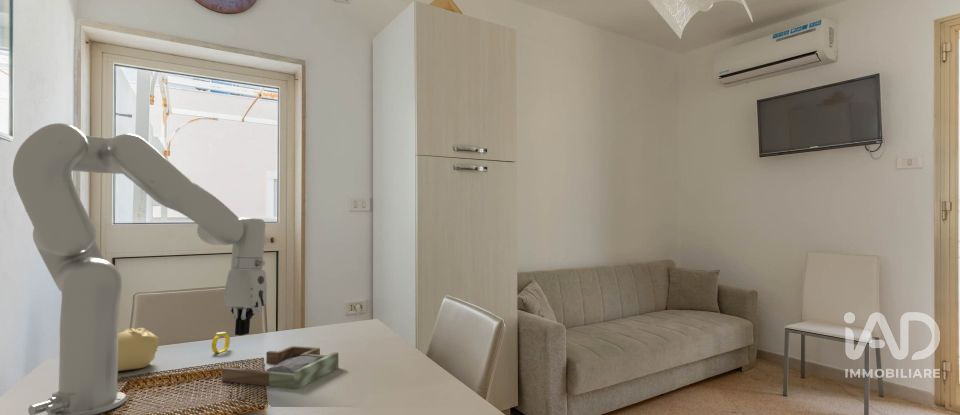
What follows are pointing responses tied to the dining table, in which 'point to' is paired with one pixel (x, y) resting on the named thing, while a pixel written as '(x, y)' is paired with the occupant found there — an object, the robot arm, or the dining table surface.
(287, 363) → the stone block
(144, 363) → the sculpture
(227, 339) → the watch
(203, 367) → the dining table surface
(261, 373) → the channel
